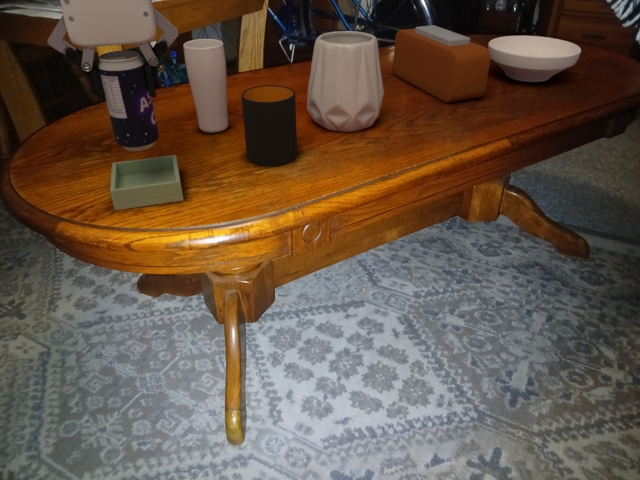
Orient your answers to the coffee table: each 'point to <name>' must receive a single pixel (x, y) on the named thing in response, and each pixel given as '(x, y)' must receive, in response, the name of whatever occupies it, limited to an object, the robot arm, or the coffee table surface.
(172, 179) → the tray
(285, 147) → the mug
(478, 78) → the brown rounded block
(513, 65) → the bowl
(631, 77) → the coffee table surface
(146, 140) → the beverage can
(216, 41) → the drinking glass
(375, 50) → the vase
